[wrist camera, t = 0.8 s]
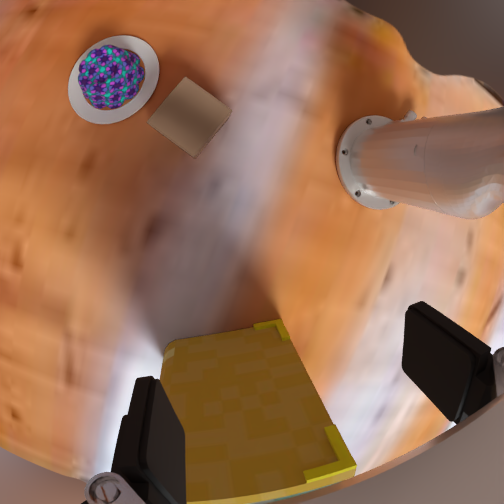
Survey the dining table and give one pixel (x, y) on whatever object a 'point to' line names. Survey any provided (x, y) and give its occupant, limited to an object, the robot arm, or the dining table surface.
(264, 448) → the book
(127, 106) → the pudding
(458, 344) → the robot arm
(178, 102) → the walnut cube
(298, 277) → the dining table surface
